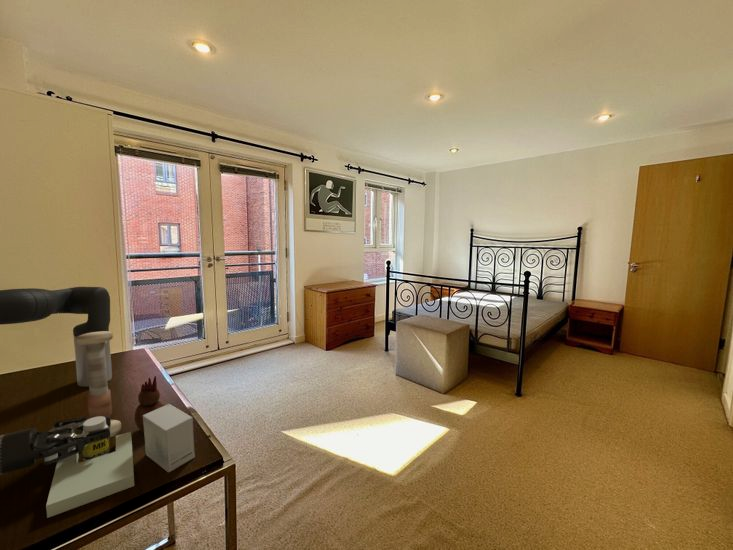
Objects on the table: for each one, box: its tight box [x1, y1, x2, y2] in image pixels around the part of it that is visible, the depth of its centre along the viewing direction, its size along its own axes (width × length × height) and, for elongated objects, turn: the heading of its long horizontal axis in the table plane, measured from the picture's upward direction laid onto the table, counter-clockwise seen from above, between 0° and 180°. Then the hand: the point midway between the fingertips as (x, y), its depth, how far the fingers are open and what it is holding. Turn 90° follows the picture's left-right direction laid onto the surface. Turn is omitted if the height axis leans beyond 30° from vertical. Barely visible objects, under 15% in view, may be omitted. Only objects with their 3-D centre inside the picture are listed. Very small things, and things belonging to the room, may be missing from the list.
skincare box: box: [143, 403, 196, 473], centre depth 75 cm, size 10×6×10 cm, turn 58°
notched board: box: [45, 431, 135, 519], centre depth 69 cm, size 18×13×2 cm
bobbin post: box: [76, 330, 122, 439], centre depth 82 cm, size 8×8×26 cm
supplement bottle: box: [81, 416, 110, 461], centre depth 73 cm, size 5×5×8 cm
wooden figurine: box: [134, 375, 165, 433], centre depth 85 cm, size 7×6×15 cm
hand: (109, 426), depth 75 cm, fingers closed on supplement bottle, 4 cm apart
